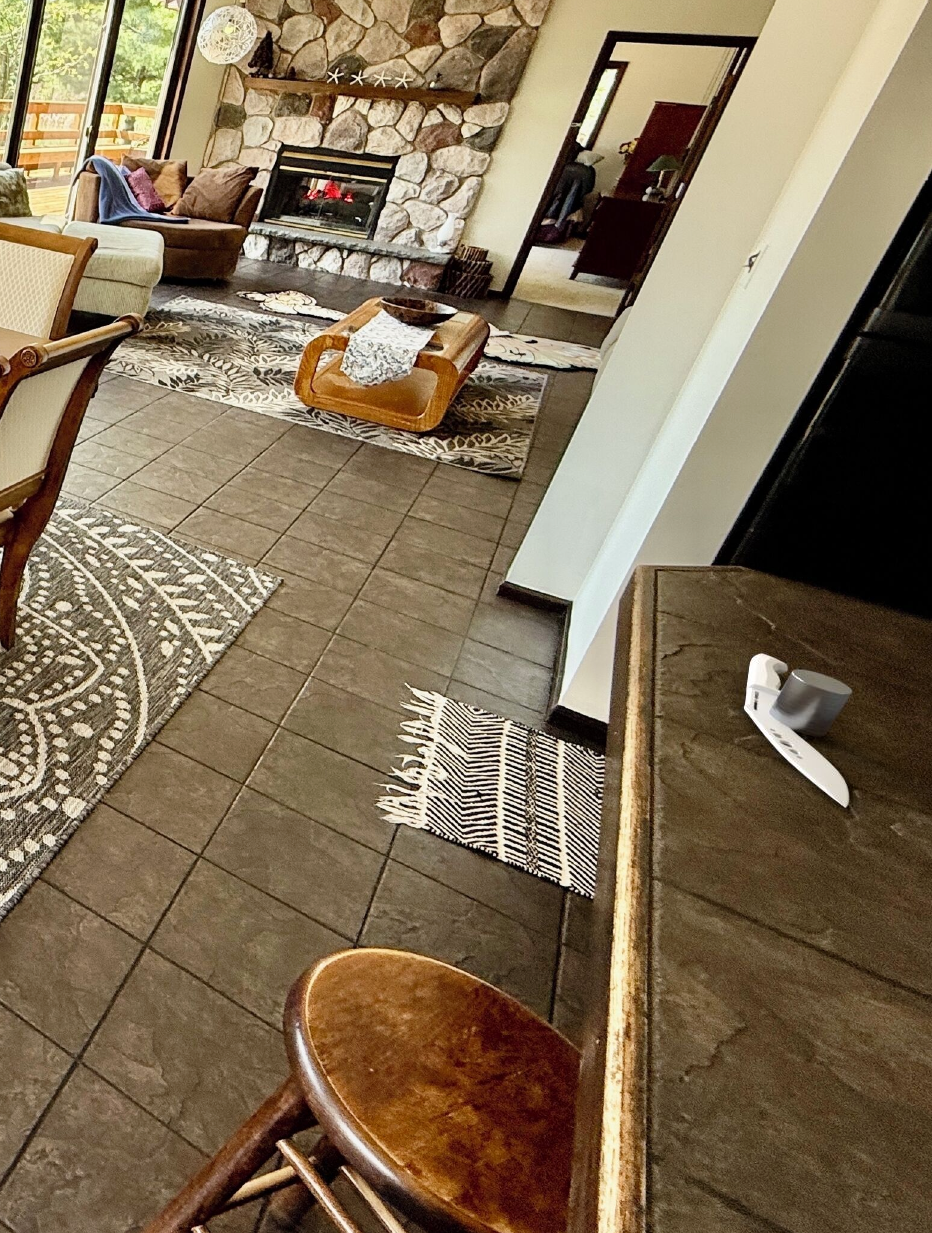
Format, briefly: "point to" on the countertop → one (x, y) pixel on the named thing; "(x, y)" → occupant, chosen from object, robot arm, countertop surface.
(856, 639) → the countertop surface
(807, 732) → the cylinder
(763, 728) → the knife
